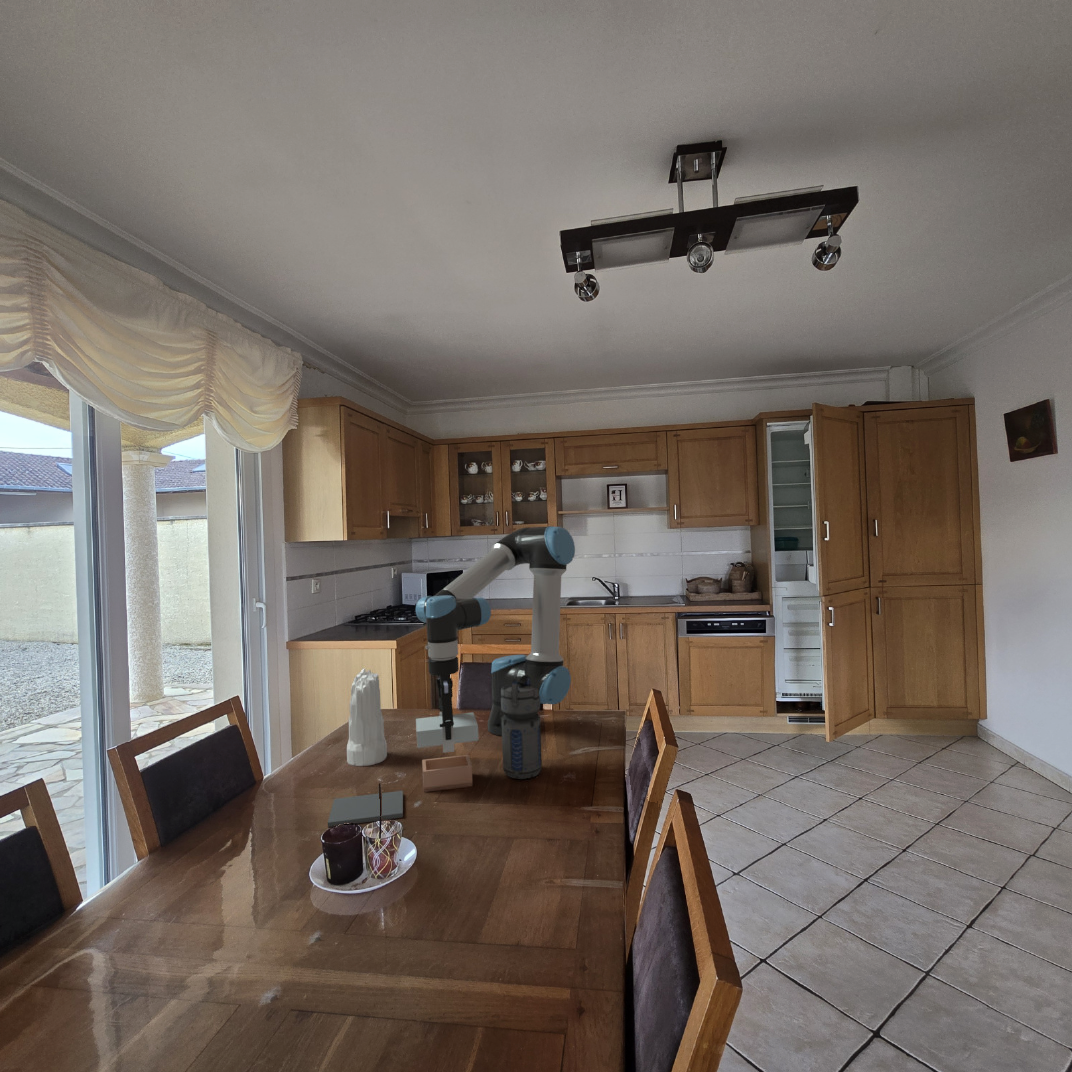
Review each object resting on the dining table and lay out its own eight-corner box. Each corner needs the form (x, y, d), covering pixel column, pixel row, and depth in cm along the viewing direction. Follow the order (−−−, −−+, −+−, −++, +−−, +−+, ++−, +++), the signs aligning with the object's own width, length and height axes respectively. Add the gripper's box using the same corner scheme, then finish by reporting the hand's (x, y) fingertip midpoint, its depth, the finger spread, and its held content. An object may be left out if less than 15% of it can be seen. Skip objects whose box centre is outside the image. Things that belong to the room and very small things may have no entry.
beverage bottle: (547, 763, 162) (545, 671, 162) (536, 783, 149) (532, 684, 149) (512, 761, 165) (509, 670, 165) (497, 780, 152) (494, 683, 152)
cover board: (474, 727, 159) (473, 712, 158) (478, 740, 149) (477, 724, 149) (416, 734, 155) (415, 718, 155) (417, 747, 146) (416, 731, 145)
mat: (402, 794, 146) (402, 790, 146) (402, 817, 134) (402, 813, 134) (334, 803, 142) (334, 798, 142) (327, 827, 130) (327, 822, 130)
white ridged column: (380, 765, 164) (377, 675, 164) (341, 766, 164) (338, 676, 164) (390, 751, 175) (388, 666, 175) (354, 751, 175) (351, 667, 175)
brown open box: (469, 773, 157) (468, 754, 157) (472, 786, 149) (471, 766, 149) (422, 779, 154) (422, 759, 154) (423, 792, 147) (423, 771, 147)
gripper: (426, 649, 162) (430, 730, 162) (430, 668, 140) (434, 762, 140) (454, 647, 163) (458, 727, 164) (462, 665, 141) (466, 758, 142)
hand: (447, 743), depth 152 cm, fingers closed on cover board, 10 cm apart
